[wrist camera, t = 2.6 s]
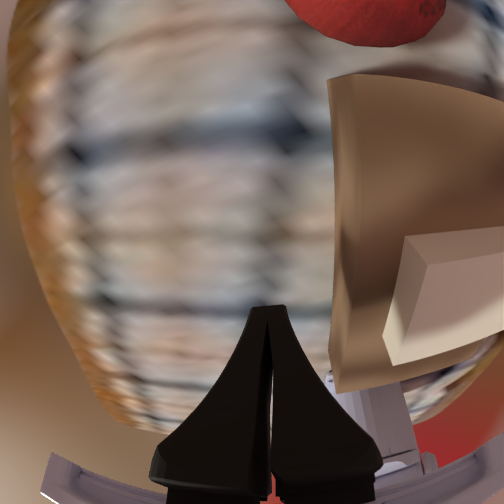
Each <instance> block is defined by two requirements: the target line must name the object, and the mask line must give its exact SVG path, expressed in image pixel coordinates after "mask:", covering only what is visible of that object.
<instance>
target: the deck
mask: <svg viewBox="0 0 504 504" xmlns="http://www.w3.org/2000/svg"><path fill="white" fill-rule="evenodd" d="M327 86H328V95H329V104H330V115H331V126H332V140H333V156H334V179H335V261H334V284H333V301H332V315H331V327H330V338H329V347H328V352H329V357H330V362H331V368H332V373H333V379H334V385H335V391H336V394H341V393H347V392H353V391H358V390H363V389H368V388H373V387H378V386H382V385H387V384H391V383H395V382H399V381H403V380H407V379H410V378H414V377H418V376H421V375H424V374H428V373H431V372H434V371H437V370H440V369H443V368H446V367H449V366H452V365H455V364H457V363H460V362H463V361H465V360H468V359H470V358H473V356H474V355H475V353H476V351H477V350H478V348H479V347H480V345H481V344H482V342H483V340H484V339H485V338H483V339H480V340H477V341H475V342H472V343H469V344H467V345H464V346H461V347H458V348H455V349H452V350H449V351H446V352H443V353H440V354H436V355H433V356H430V357H426V358H422V359H419V360H415V361H411V362H407V363H403V364H399V365H395V366H393V365H392V362H391V359H390V356H389V353H388V350H387V348H386V345H385V342H384V339H383V337H382V335H383V332H384V329H385V325H386V321H387V318H388V314H389V310H390V306H391V303H392V298H393V294H394V290H395V286H396V281H397V276H398V271H399V266H400V261H401V256H402V250H403V244H404V238H405V236H410V235H420V234H430V233H440V232H450V231H460V230H469V229H479V228H489V227H499V226H504V102H503V101H500V100H497V99H494V98H491V97H488V96H485V95H481V94H478V93H475V92H471V91H467V90H464V89H460V88H456V87H451V86H447V85H442V84H437V83H432V82H427V81H421V80H415V79H408V78H400V77H392V76H382V75H369V74H352V75H347V76H342V77H338V78H333V79H329V80H327Z"/></svg>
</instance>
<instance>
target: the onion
mask: <svg viewBox="0 0 504 504" xmlns="http://www.w3.org/2000/svg"><path fill="white" fill-rule="evenodd" d="M285 2H286V3H287V4H288V5H289V6H290V7H291V9H292V10H293V11H294V12H295V14H296V15H297V16H298V17H299V18H300V19H301V20H303V21H304V22H306V23H307V24H309V25H310V26H312V27H313V28H315V29H316V30H317V31H319V32H320V33H322V34H323V35H324V36H327V37H330V38H333V39H336V40H339V41H342V42H345V43H348V44H351V45H354V46H368V47H395V46H399V45H402V44H406V43H409V42H413V41H416V40H418V39H420V38H422V37H424V36H425V35H426V34H427V33H428V32H429V31H430V30H431V29H432V28H433V26H434V25H435V24H436V23H437V22H438V21H439V20H440V18H441V17H442V16H443V14H444V11H445V6H446V0H285Z"/></svg>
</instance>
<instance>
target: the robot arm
mask: <svg viewBox="0 0 504 504" xmlns="http://www.w3.org/2000/svg"><path fill="white" fill-rule="evenodd" d="M272 377H273V415H272V439H271V442H270V403H271V390H272ZM422 457H423V464H422V459H421V454H420V452H419V449H418V447H417V443H416V439H415V435H414V430H413V427H412V423H411V419H410V415H409V412H408V408H407V405H406V401H405V398H404V394H403V391H402V388H401V385H400V381H399V382H395V383H391V384H387V385H382V386H378V387H373V388H368V389H363V390H358V391H353V392H347V393H341V394H336V391H335V385H334V379H333V373H332V372H329V373H327V374H326V378H325V385H324V384H323V382H322V381H321V379H320V378H319V376H318V375H317V373H316V372H315V370H314V369H313V367H312V365H311V364H310V362H309V360H308V359H307V357H306V355H305V353H304V351H303V350H302V348H301V346H300V344H299V342H298V340H297V337H296V335H295V333H294V331H293V328H292V326H291V323H290V320H289V317H288V314H287V309H286V306H285V305H272V306H261V307H252V308H251V309H250V313H249V316H248V319H247V322H246V325H245V328H244V330H243V333H242V335H241V337H240V339H239V342H238V344H237V346H236V348H235V350H234V352H233V354H232V356H231V358H230V360H229V361H228V363H227V365H226V367H225V369H224V370H223V372H222V373H221V375H220V377H219V378H218V380H217V381H216V383H215V384H214V386H213V387H212V388H211V390H210V391H209V392H208V394H207V395H206V396H205V398H204V399H203V400H202V402H201V403H200V404H199V405H198V406H197V408H196V409H195V410H194V411H193V412H192V413H191V414H190V415H189V416H188V417H187V418H186V420H185V421H184V422H183V423H182V424H181V425H180V426H179V427H178V428H177V429H176V430H174V431H173V432H172V433H171V434H170V435H169V436H168V437H167V438H165V439H164V440H163V441H162V442H161V443H160V444H159V445H158V446H157V448H156V450H155V453H154V456H153V458H152V462H151V468H150V472H149V478H150V480H151V481H153V482H155V483H158V484H160V485H163V486H165V487H168V493H167V494H162V493H157V492H153V491H149V490H145V489H142V488H138V487H134V486H131V485H128V484H125V483H121V482H118V481H115V480H112V479H109V478H107V477H104V476H101V475H99V474H96V473H93V472H91V471H89V470H86V469H84V468H81V467H80V466H79V465H77V464H75V463H73V462H71V461H69V460H67V459H65V458H63V457H61V456H59V455H57V454H55V453H53V452H52V453H51V455H50V458H49V461H48V465H47V468H46V471H45V475H44V479H43V482H42V486H41V490H40V492H41V494H43V495H44V496H46V497H47V498H49V499H50V500H52V501H54V502H55V503H57V504H260V501H267V496H268V495H270V494H271V493H272V479H271V472H272V474H273V476H274V477H275V479H276V496H279V497H280V501H281V502H283V503H284V504H482V503H483V502H485V501H486V500H487V499H489V498H490V497H492V496H493V495H494V494H496V493H497V492H498V491H500V490H501V489H502V488H504V432H503V433H501V434H499V435H498V436H496V437H495V438H493V439H492V440H490V441H489V442H487V443H485V444H483V445H482V446H481V447H479V448H477V449H476V450H475V451H474V452H472V453H470V454H468V455H466V456H464V457H462V458H460V459H458V460H456V461H454V462H452V463H450V464H448V465H446V466H443V467H441V468H439V469H438V465H437V461H436V458H435V455H433V454H429V452H425V453H423V454H422ZM423 466H424V468H423ZM424 472H425V473H424Z"/></svg>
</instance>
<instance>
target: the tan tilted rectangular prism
mask: <svg viewBox="0 0 504 504" xmlns="http://www.w3.org/2000/svg"><path fill="white" fill-rule="evenodd" d="M502 330H504V226H499V227H489V228H479V229H469V230H460V231H450V232H440V233H430V234H420V235H410V236H405V238H404V244H403V250H402V256H401V261H400V266H399V271H398V276H397V281H396V286H395V290H394V294H393V298H392V303H391V306H390V310H389V314H388V318H387V321H386V325H385V329H384V332H383V335H382V337H383V339H384V342H385V345H386V348H387V350H388V353H389V356H390V359H391V362H392V365H393V366H395V365H399V364H403V363H407V362H411V361H415V360H419V359H422V358H426V357H430V356H433V355H436V354H440V353H443V352H446V351H449V350H452V349H455V348H458V347H461V346H464V345H467V344H469V343H472V342H475V341H477V340H480V339H483V338H485V337H488V336H490V335H492V334H495V333H497V332H500V331H502Z"/></svg>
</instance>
